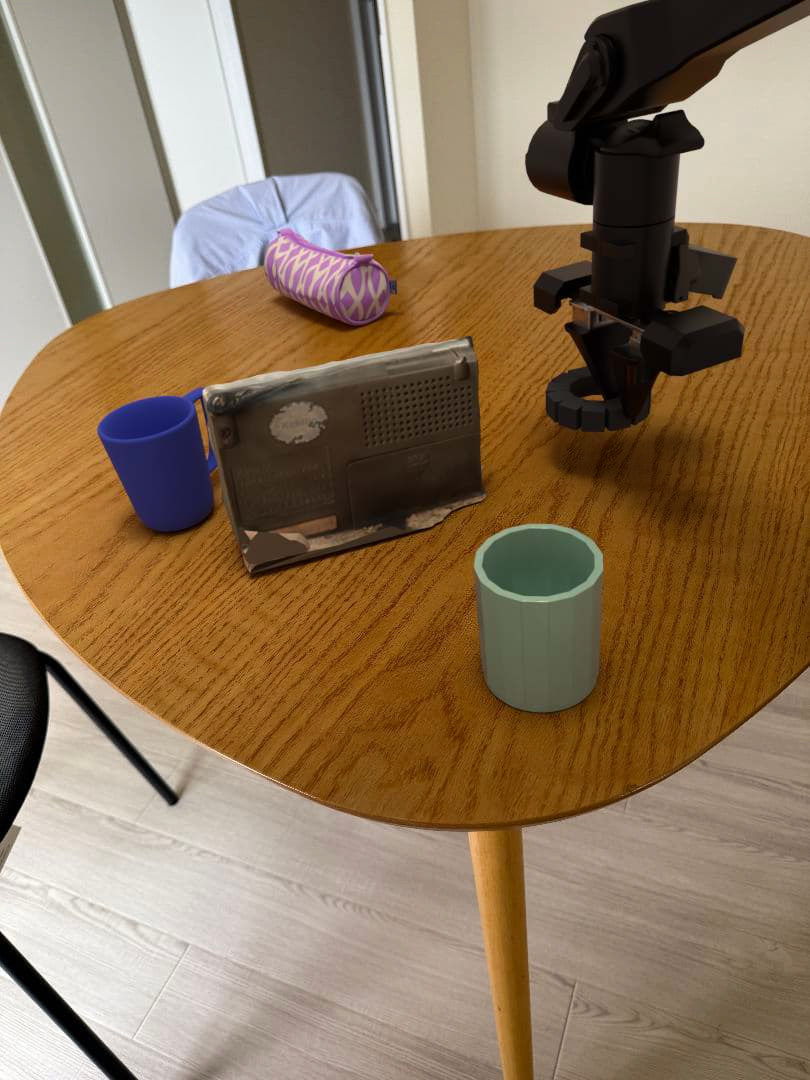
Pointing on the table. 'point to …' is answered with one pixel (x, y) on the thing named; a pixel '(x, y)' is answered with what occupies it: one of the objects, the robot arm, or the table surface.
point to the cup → (539, 615)
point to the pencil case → (328, 279)
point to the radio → (347, 450)
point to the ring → (586, 404)
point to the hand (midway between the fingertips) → (622, 411)
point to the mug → (162, 459)
